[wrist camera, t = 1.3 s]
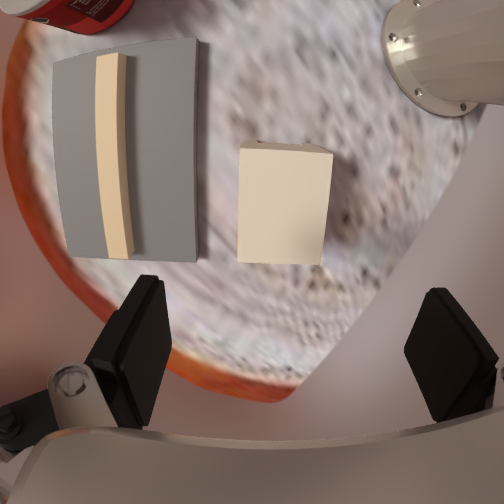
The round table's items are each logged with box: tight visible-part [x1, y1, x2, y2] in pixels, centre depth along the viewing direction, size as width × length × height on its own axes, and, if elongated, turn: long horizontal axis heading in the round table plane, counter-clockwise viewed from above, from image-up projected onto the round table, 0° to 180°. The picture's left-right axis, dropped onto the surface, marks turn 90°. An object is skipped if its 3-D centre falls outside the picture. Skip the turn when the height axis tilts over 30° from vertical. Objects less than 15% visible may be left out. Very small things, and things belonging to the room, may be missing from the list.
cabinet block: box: [237, 140, 333, 265], centre depth 24 cm, size 6×9×7 cm
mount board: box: [52, 37, 200, 263], centre depth 24 cm, size 14×20×3 cm
